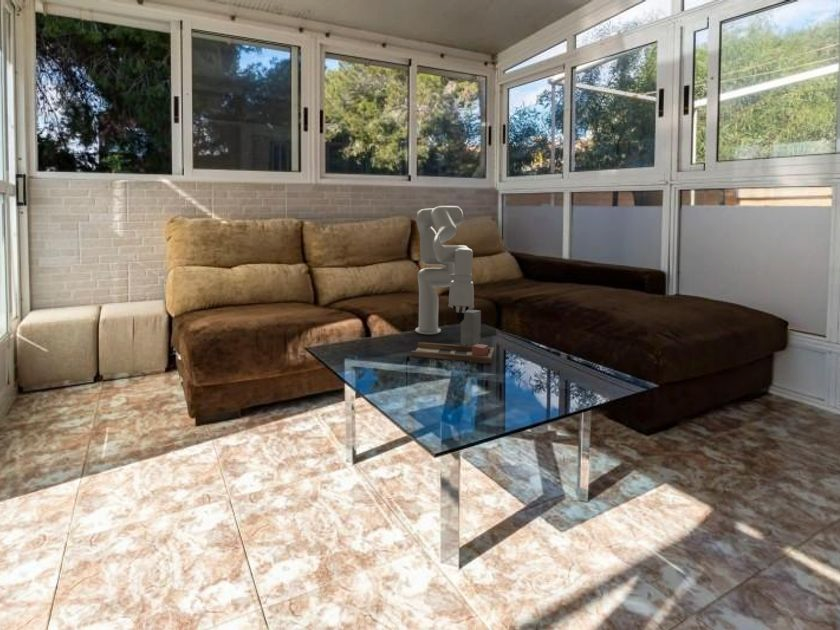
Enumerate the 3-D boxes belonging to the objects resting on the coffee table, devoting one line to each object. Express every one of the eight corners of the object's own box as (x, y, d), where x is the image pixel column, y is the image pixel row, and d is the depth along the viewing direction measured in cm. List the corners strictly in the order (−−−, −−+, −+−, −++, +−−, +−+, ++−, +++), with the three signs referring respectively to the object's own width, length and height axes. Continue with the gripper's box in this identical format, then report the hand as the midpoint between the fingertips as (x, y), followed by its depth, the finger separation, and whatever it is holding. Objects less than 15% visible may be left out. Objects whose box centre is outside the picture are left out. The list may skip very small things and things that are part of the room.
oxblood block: (476, 354, 236) (477, 343, 235) (487, 356, 233) (488, 345, 232) (471, 357, 231) (472, 346, 230) (483, 359, 229) (483, 348, 228)
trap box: (418, 347, 247) (418, 342, 246) (493, 353, 240) (494, 347, 240) (411, 357, 232) (411, 351, 232) (490, 363, 226) (491, 357, 225)
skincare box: (472, 348, 248) (473, 313, 245) (458, 345, 252) (459, 311, 249) (481, 343, 255) (482, 310, 252) (467, 341, 259) (468, 308, 256)
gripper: (443, 278, 227) (441, 322, 231) (479, 281, 224) (477, 325, 228) (446, 275, 234) (444, 317, 238) (481, 277, 231) (479, 320, 235)
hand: (460, 321), depth 233 cm, fingers closed
